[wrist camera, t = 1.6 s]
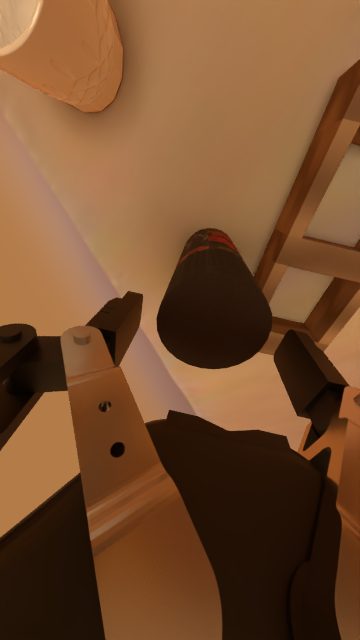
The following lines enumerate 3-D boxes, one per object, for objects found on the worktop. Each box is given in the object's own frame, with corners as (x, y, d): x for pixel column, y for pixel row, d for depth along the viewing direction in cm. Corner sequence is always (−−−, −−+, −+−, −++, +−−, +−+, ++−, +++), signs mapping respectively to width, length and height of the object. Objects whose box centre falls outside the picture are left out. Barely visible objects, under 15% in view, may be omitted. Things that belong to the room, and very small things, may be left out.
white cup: (80, 143, 19) (-22, 98, 10) (12, 24, 15) (-224, -188, 7) (149, 83, 16) (88, -42, 8) (86, -76, 13) (-146, -607, 4)
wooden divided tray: (339, 77, 15) (378, 42, 11) (465, 108, 15) (540, 83, 12) (232, 328, 28) (235, 346, 24) (300, 344, 28) (313, 364, 25)
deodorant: (173, 249, 23) (133, 314, 10) (217, 215, 21) (236, 245, 8) (201, 288, 25) (196, 381, 13) (243, 262, 23) (291, 343, 10)
